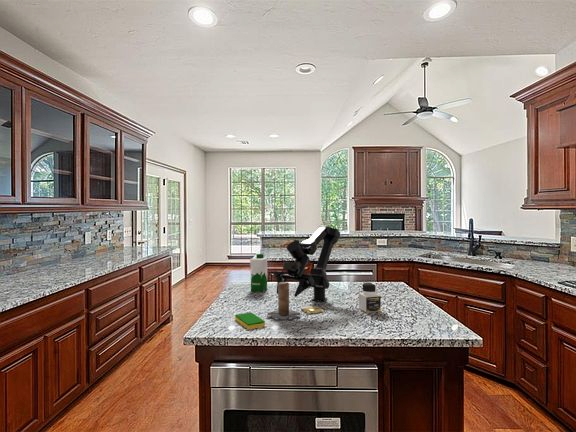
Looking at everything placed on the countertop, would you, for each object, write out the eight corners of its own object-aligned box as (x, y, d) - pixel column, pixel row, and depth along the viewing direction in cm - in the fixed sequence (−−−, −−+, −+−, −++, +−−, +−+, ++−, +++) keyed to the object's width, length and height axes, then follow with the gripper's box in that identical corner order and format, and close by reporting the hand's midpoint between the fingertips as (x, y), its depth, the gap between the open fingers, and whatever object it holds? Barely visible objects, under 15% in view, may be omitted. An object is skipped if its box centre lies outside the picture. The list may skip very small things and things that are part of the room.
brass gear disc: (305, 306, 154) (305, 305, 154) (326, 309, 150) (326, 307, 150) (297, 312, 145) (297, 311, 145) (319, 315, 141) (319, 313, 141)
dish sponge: (251, 317, 141) (251, 311, 141) (265, 327, 129) (265, 321, 129) (235, 320, 137) (235, 314, 137) (248, 330, 125) (248, 324, 125)
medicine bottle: (366, 313, 144) (366, 285, 144) (358, 308, 151) (358, 282, 151) (381, 311, 146) (380, 284, 146) (372, 307, 153) (372, 281, 153)
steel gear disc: (275, 309, 151) (275, 307, 151) (305, 312, 145) (305, 311, 145) (260, 318, 137) (260, 316, 137) (292, 323, 132) (292, 321, 132)
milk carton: (269, 288, 191) (268, 253, 191) (263, 292, 182) (262, 256, 182) (254, 288, 193) (254, 253, 193) (248, 291, 185) (248, 255, 185)
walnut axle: (286, 311, 144) (285, 281, 144) (291, 314, 140) (290, 283, 140) (276, 313, 142) (276, 282, 142) (281, 316, 138) (281, 284, 138)
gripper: (275, 252, 152) (260, 281, 143) (310, 255, 141) (296, 287, 132) (285, 267, 158) (271, 295, 150) (320, 271, 148) (307, 301, 139)
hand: (286, 294), depth 142 cm, fingers open, 9 cm apart
